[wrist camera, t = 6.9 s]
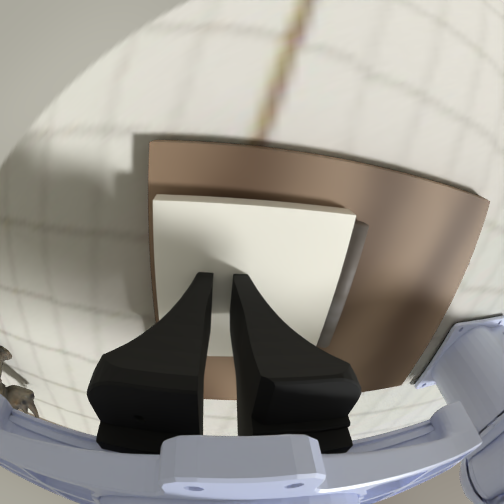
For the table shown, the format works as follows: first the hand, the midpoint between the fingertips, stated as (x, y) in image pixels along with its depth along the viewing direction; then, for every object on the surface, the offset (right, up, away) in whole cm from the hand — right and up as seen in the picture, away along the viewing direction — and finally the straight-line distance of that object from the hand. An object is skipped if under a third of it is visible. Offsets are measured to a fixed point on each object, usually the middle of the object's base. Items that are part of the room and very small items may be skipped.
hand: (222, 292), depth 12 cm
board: (+5, -1, +3) cm, 7 cm away
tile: (+1, 0, 0) cm, 1 cm away
